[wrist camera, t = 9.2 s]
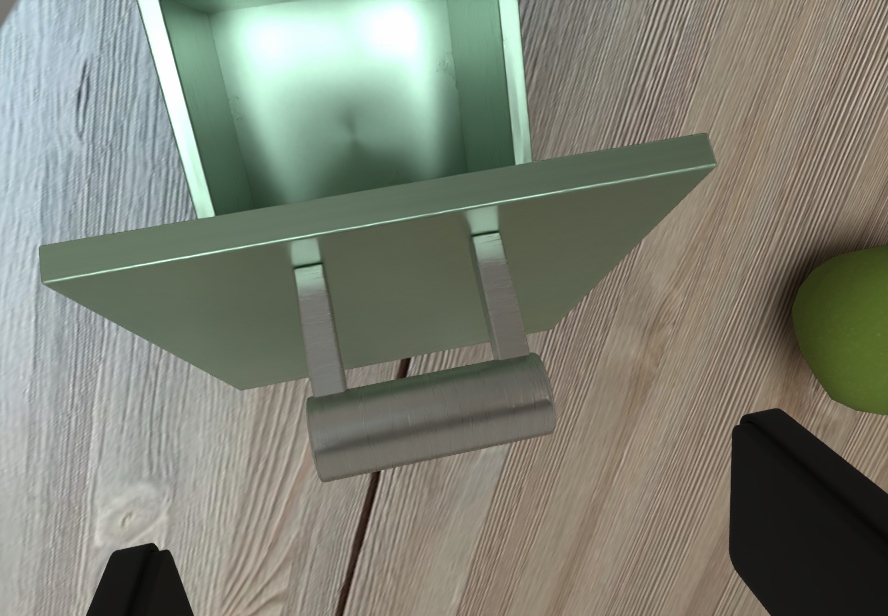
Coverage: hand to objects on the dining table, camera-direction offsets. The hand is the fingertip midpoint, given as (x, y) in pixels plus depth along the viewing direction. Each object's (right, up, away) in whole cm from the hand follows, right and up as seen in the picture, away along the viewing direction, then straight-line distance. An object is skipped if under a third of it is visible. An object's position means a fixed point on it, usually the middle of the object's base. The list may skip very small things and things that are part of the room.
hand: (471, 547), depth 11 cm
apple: (+26, +5, +36) cm, 44 cm away
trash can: (-6, +13, +27) cm, 31 cm away
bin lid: (-2, +4, +11) cm, 12 cm away
